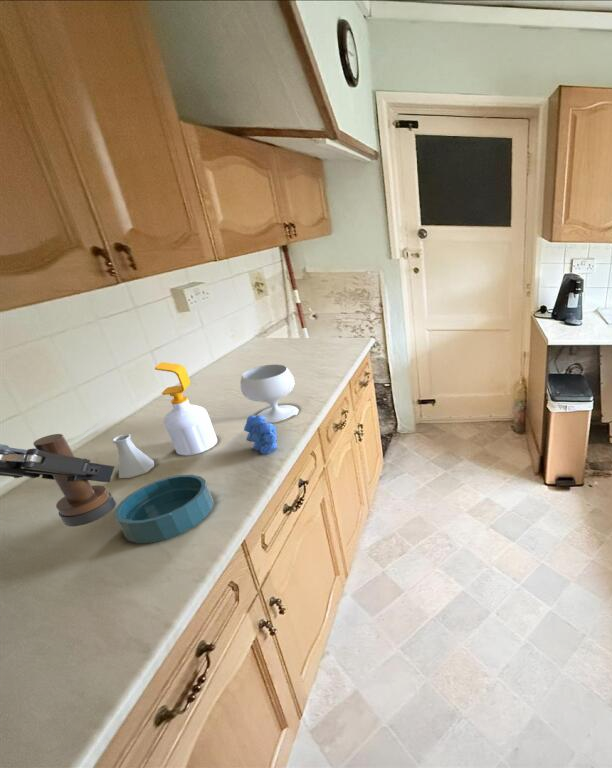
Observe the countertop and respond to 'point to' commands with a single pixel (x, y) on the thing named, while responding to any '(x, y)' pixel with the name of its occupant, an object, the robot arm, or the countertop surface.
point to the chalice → (269, 390)
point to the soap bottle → (186, 417)
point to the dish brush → (76, 489)
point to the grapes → (261, 434)
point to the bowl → (164, 508)
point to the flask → (131, 458)
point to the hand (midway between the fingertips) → (97, 474)
